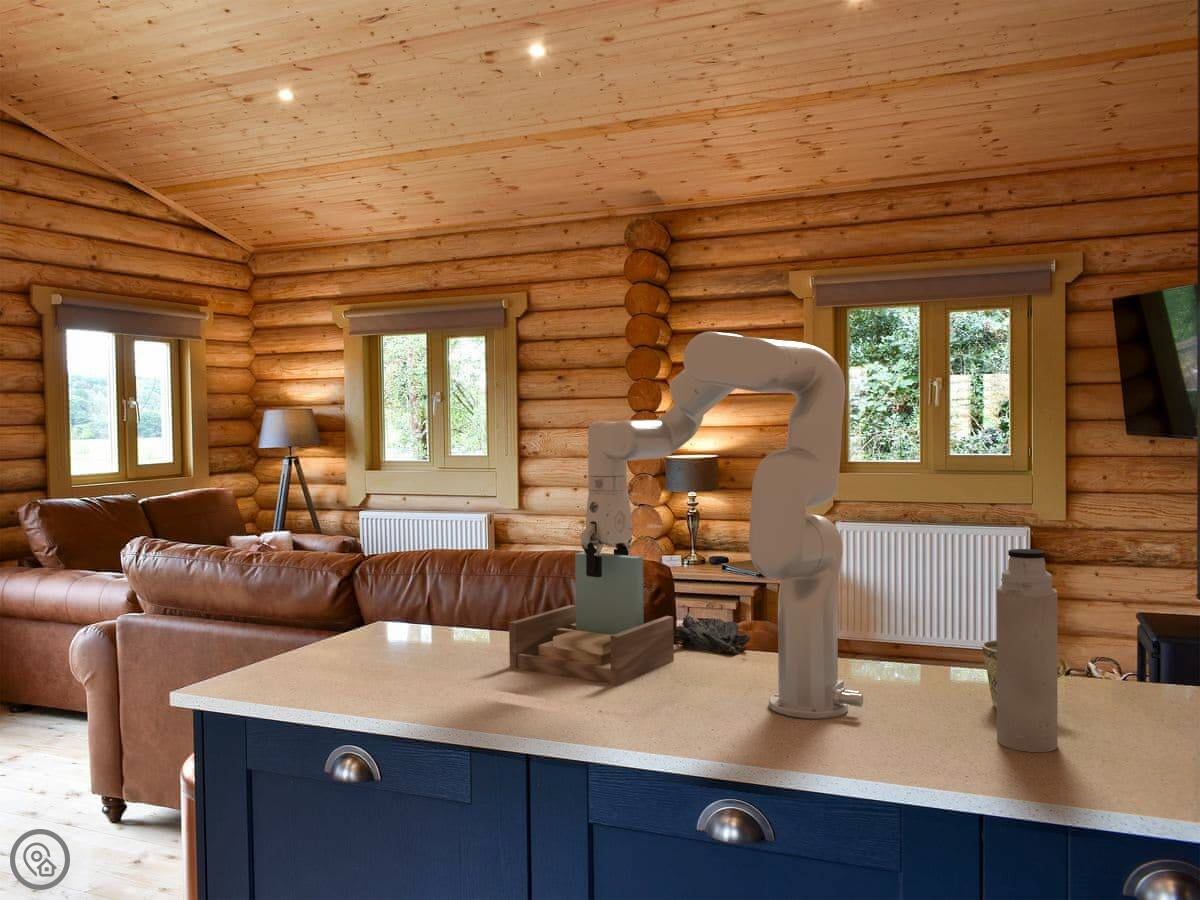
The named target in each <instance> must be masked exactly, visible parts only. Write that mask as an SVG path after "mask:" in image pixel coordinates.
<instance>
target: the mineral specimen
mask: <svg viewBox="0 0 1200 900" xmlns="http://www.w3.org/2000/svg"><path fill="white" fill-rule="evenodd" d="M682 620H683V621H682V623H681V625H679V626H678V625H677V627H674V628H675V633H676V634H674V637H675V638H674V640H675V641H676V642H681V643H680V646H681V647H682V648H684V649H685V650H691V651H692V650H693V651H701V652H711V653H714V654H730V655H731V654H732V655H737V656H738V655H740V654H741V653H743V652H744V651H746V650H748V646H746V645H747V644H748V643H749V642H750V641H751V636H750V634H741V633H740V631H739V629H740V626H739V624H738V622H735V621H732V620H731V621H724V620H722V619H721V618H717V619H716V618H715V617H714V618H711V617H710V618H709V619H701V620H699V619H697V618H695V617H694V616H693V614H691V612H687V613H686V615H685V617H683V618H682Z"/></svg>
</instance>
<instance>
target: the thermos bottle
mask: <svg viewBox="0 0 1200 900" xmlns="http://www.w3.org/2000/svg"><path fill="white" fill-rule="evenodd" d="M1007 553H1008V556H1009V557H1008V562H1007V563H1008V565H1007V566H1008V568H1007V569H1005V570H1003V571H1002V572H1001V578H1000V581H1001V585H999V586H997V587H996V640H997V708H996V740H997V742H998V744H1000V745H1002V746H1004V747H1005V748H1008V749H1013V750H1016V751H1021V752H1022V751H1023V752H1028V753H1047V752H1052V751H1054V750H1057V749H1058V736H1059V735H1058V732H1059V731H1058V678H1057V675H1058V662H1057V658H1058V590H1057V589H1056V588H1053V581H1054V579H1053V575H1052V574H1051V573H1050V572H1048V571H1047V569H1046V561H1045V558H1046V551H1045V550H1039V549H1031V548H1013V549H1009V550H1007Z"/></svg>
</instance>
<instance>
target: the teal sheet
mask: <svg viewBox="0 0 1200 900" xmlns="http://www.w3.org/2000/svg"><path fill="white" fill-rule="evenodd" d="M574 555H575V556H574V564H575V566H574V567H575V571H574V572H575V574H574V575H575V576H574V577H575V578H574V579H575V606H576V630H581V631H589V632H596V633H604V634H612V635H614V634H617V633H620V632H622V631H625V630H628V629H631V628H634V627H637V626H639V625H642V624H645V623H644V620H645V619H644V618H645V617H644V557H643V556H638V555H629V556H627V555H614V553H613V554H611V553H601V552H600V555H599V556H602V576H601V577H590V576H587V575H586V556H585V554H584V551H581V552H577V553H574Z"/></svg>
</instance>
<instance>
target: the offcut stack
mask: <svg viewBox="0 0 1200 900" xmlns="http://www.w3.org/2000/svg"><path fill="white" fill-rule="evenodd" d="M610 636H611V635H609V634H602V633H594V632H586V631H579V630H573V631H570V632H567V633H564V634H561V635H557V636H554V637H553V641H550V642H547V643H544V644H541V645H539V657H546V658H552V659H559V660H565V661H572V662H579V663H585V664H592V665H598V666H605V667H611V647H610Z"/></svg>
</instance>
